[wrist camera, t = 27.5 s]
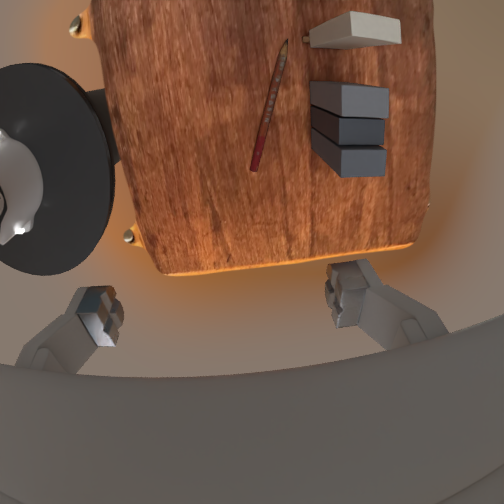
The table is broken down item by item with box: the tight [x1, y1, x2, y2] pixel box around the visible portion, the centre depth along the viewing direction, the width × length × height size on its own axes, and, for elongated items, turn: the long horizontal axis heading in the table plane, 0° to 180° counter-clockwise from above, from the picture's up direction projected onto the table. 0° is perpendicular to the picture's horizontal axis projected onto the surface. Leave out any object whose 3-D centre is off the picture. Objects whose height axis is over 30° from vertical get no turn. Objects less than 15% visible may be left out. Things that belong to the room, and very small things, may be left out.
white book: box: [309, 11, 401, 50], centre depth 24 cm, size 5×2×14 cm, turn 94°
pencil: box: [250, 39, 288, 172], centre depth 35 cm, size 19×1×1 cm, turn 167°
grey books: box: [310, 81, 389, 178], centre depth 31 cm, size 5×10×12 cm, turn 4°
